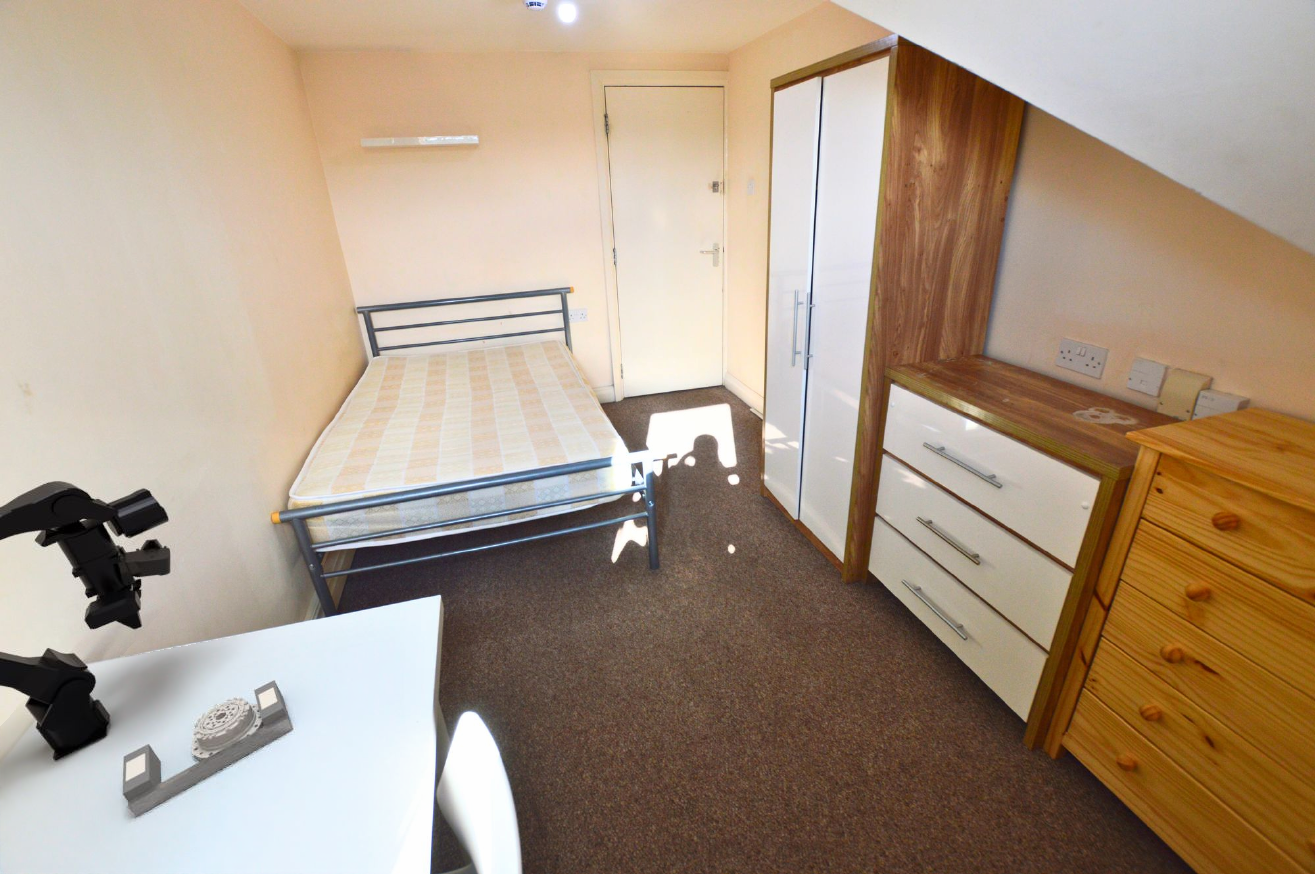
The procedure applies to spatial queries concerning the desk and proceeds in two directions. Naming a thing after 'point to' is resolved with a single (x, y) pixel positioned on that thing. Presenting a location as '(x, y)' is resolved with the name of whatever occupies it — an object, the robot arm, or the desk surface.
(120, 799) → the desk surface
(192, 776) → the metal rail
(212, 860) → the desk surface
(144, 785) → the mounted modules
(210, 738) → the mechanical component
